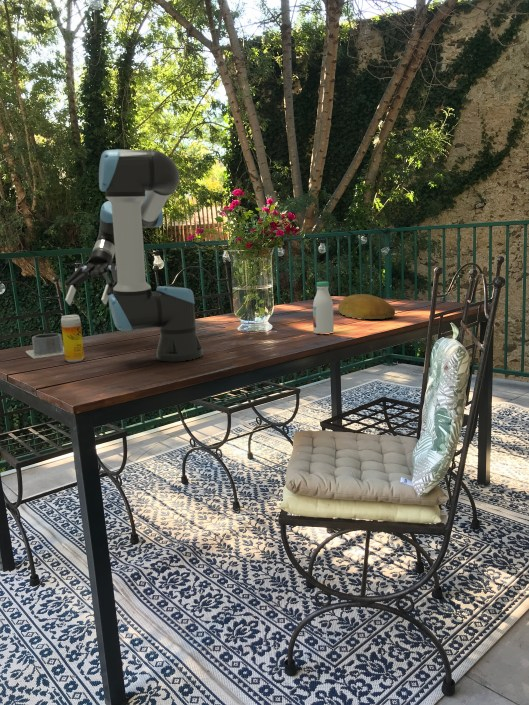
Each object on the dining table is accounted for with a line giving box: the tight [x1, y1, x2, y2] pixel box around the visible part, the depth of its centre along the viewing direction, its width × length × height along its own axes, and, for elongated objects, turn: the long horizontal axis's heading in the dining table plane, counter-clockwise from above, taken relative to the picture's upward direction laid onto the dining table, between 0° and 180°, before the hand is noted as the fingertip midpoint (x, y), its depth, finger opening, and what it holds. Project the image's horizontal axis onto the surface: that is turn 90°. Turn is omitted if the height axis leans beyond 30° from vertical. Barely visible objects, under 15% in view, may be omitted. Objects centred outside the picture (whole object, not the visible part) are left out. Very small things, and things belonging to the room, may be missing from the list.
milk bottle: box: [312, 281, 334, 334], centre depth 222 cm, size 8×8×20 cm
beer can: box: [60, 314, 85, 363], centre depth 192 cm, size 6×6×15 cm
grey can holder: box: [25, 332, 65, 360], centre depth 207 cm, size 13×13×6 cm
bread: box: [338, 293, 396, 320], centre depth 264 cm, size 18×35×10 cm, turn 24°
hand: (85, 302), depth 200 cm, fingers open, 13 cm apart
